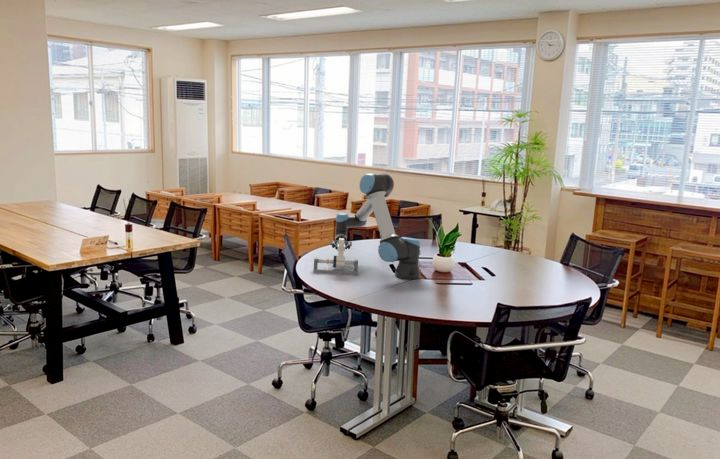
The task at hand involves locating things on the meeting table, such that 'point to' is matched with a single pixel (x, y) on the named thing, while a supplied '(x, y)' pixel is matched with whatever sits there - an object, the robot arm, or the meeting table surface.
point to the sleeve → (340, 254)
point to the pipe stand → (335, 270)
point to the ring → (334, 262)
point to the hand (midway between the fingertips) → (341, 248)
